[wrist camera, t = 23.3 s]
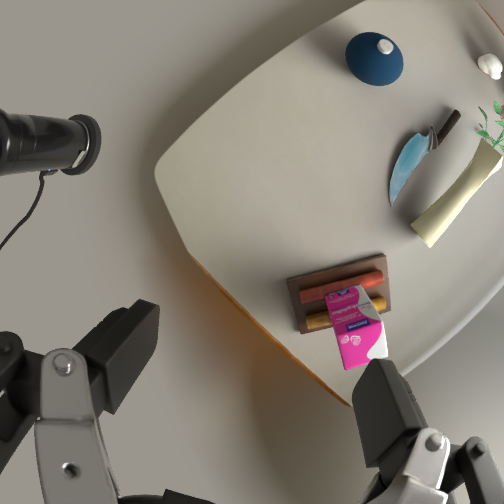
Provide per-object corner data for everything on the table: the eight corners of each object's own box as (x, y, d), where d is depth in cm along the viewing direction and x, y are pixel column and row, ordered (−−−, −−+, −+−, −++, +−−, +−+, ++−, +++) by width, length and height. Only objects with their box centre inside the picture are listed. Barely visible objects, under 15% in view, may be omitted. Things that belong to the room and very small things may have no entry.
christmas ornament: (400, 72, 31) (428, 52, 22) (371, 102, 33) (396, 84, 24) (360, 37, 30) (378, 8, 21) (329, 65, 32) (342, 37, 23)
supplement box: (359, 281, 38) (385, 320, 27) (366, 314, 39) (389, 358, 29) (323, 293, 39) (336, 337, 28) (332, 325, 41) (345, 373, 30)
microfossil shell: (480, 54, 26) (495, 47, 21) (495, 76, 27) (511, 71, 22) (471, 61, 27) (487, 54, 22) (487, 85, 28) (504, 80, 23)
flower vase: (392, 203, 44) (491, 82, 27) (435, 251, 42) (531, 130, 25) (394, 208, 34) (510, 61, 17) (447, 270, 32) (558, 120, 15)
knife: (370, 186, 37) (391, 207, 38) (374, 188, 36) (395, 210, 37) (440, 93, 30) (457, 116, 31) (445, 93, 29) (463, 116, 30)
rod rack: (300, 331, 45) (301, 342, 42) (286, 278, 42) (287, 287, 39) (389, 307, 42) (395, 316, 39) (383, 253, 40) (391, 259, 37)
